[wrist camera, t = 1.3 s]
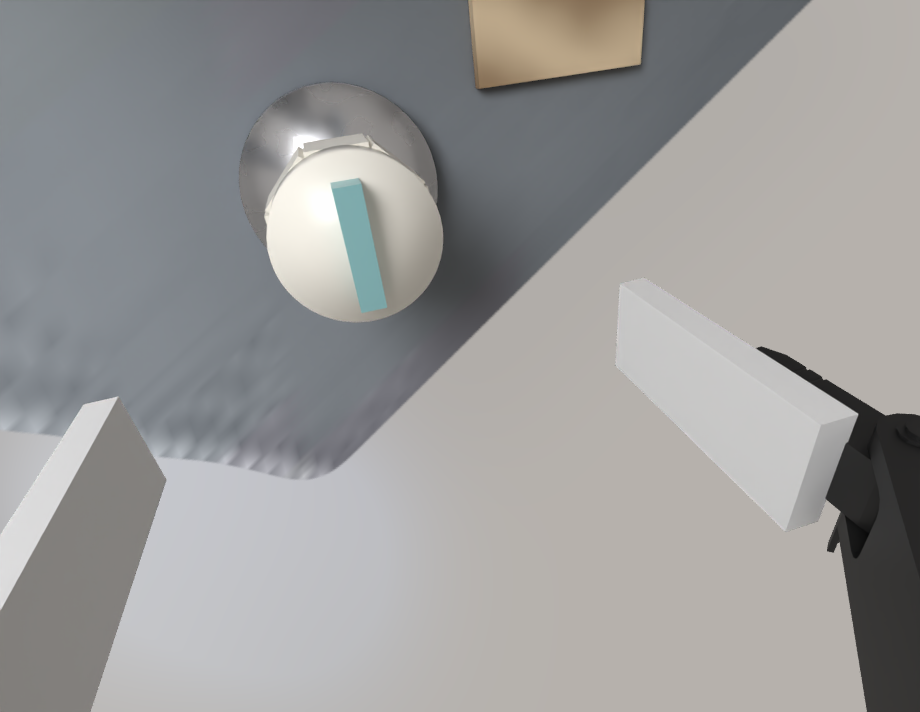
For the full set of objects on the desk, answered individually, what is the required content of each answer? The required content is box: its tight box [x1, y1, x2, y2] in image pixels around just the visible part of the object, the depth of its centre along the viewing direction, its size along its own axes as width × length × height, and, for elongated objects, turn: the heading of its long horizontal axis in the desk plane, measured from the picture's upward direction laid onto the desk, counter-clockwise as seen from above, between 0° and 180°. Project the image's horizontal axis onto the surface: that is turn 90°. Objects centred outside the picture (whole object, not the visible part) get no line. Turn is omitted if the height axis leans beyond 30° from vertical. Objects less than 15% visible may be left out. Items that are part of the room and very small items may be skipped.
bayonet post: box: [239, 82, 438, 249], centre depth 29 cm, size 12×12×10 cm
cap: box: [264, 133, 443, 322], centre depth 25 cm, size 8×8×6 cm
